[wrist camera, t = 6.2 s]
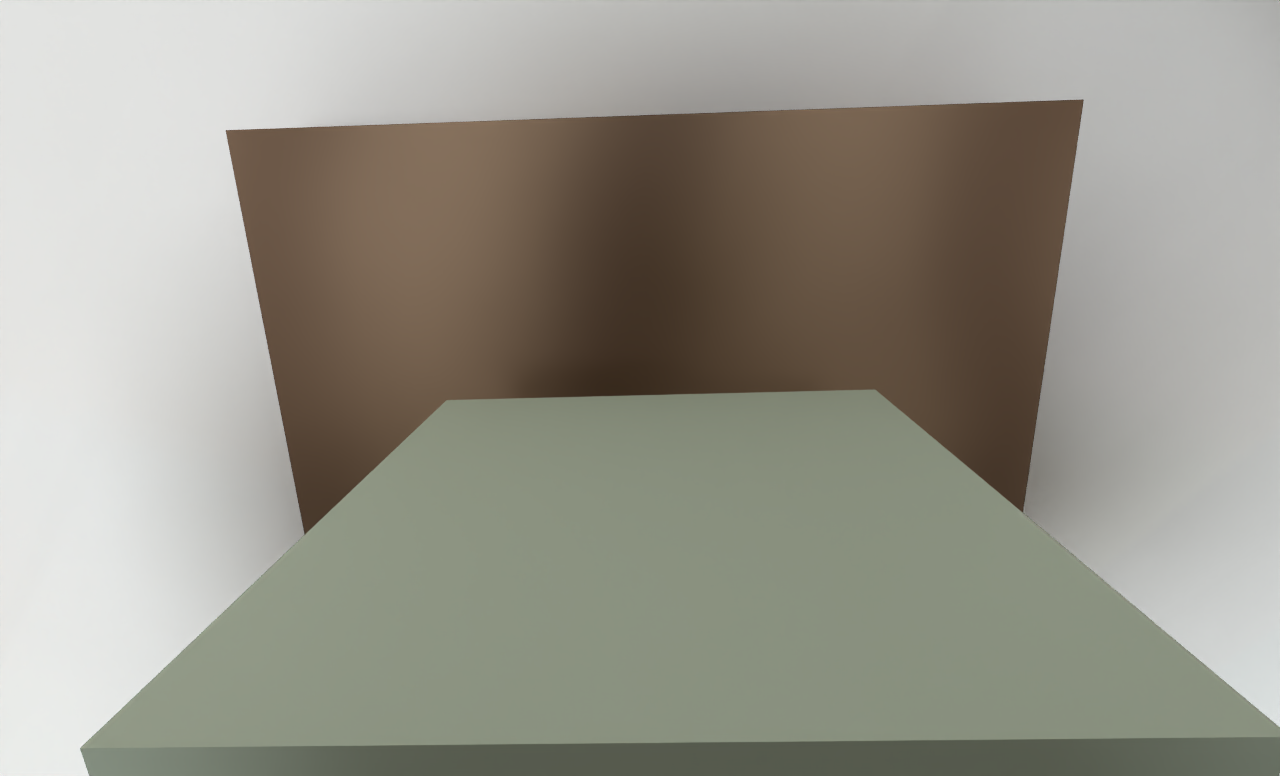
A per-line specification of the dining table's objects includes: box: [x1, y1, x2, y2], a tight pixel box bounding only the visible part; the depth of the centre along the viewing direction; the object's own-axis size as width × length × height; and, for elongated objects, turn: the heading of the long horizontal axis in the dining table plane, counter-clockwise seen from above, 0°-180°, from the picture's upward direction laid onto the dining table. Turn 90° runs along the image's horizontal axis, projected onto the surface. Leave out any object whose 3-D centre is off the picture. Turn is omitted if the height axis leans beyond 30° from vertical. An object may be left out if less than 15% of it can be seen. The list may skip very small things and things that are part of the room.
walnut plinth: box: [226, 100, 1084, 534], centre depth 14 cm, size 14×14×2 cm
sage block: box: [80, 390, 1280, 776], centre depth 7 cm, size 6×6×6 cm
